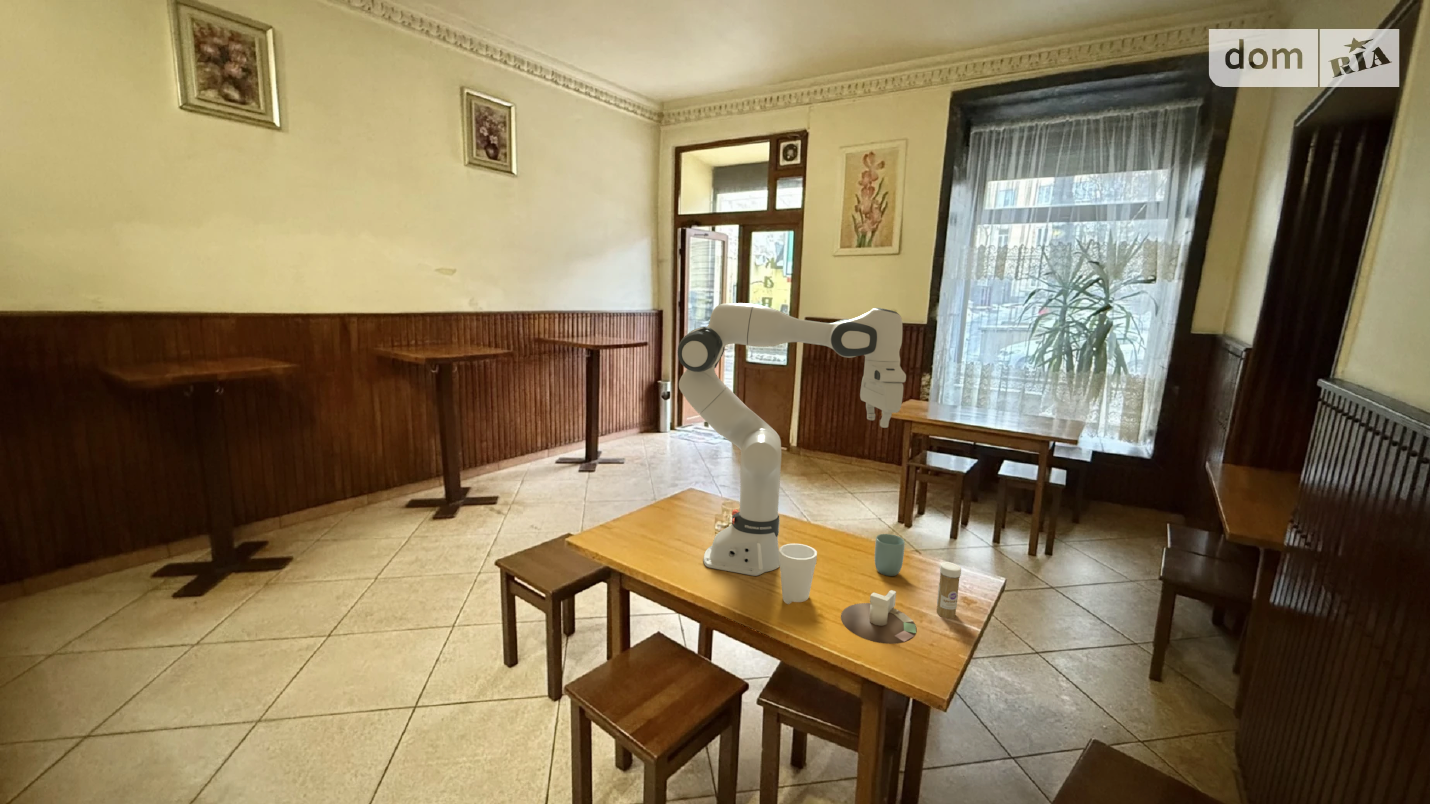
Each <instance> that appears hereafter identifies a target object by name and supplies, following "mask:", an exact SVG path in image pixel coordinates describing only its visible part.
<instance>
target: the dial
mask: <svg viewBox="0 0 1430 804" xmlns="http://www.w3.org/2000/svg"><path fill="white" fill-rule="evenodd" d="M870 605H871V603H870V602H863V603H862V602H861V603H860V602H859V603H855V604H851V605H849V606H847V607H845V608H844V609H843V610H841V614H840V620H841V623H842V625H843V626H844V627H845V628H846V629H847V630H848V631H849V632H850V633H852V634H853V635H855V636H857V637H859V638H861V639H864V640H867V641H871V642H873V643H878V644H890V645H891V644H893V645H895V644H902V643H906V642H908V641H911V640H912V639H913V638H914V637H915V636H916V634H917V632H918V631H917V625H916V623H915V622H914V620H913V619H912V618H911V617H909V615H907V614H905V612H902V611H901V610H899V609H896V608H895V607H893V608H892V609H891V610H890V612H889V613H888V618H887V624H886V625H883V626H879V625H875V624H873V623H871V622H870V620H869V617H870Z"/></svg>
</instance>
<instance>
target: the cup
mask: <svg viewBox="0 0 1430 804" xmlns="http://www.w3.org/2000/svg"><path fill="white" fill-rule="evenodd" d="M905 544H906V543H905V540H904V539H903V537H902V536H899V535H895V534H892V533H891V534H890V533H882V534H881V533H880V534H878V535H876V537H875V543H874V546H875V547H874V566H875V569H876V570H877V572H878V573H879V574H882V575H884V576H886V577H895V576H896V575H899V573H900V572H901V570H902V568H903V562H904V557H905V547H906V546H905Z"/></svg>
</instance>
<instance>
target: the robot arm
mask: <svg viewBox="0 0 1430 804" xmlns="http://www.w3.org/2000/svg"><path fill="white" fill-rule="evenodd" d="M788 343H803V344H811V345H818V346H819V345H820V346H825V347H828V348H829V349H831V350H833V351H834V352H835V353H836V354H837V355H839V356H841V357H843V358H855V357H860V356H864V367H863V376H862V380H861V386H860V390H859V391H860V393H859V397H860V400H861V401H862V402H865V409H866V419H867V421H875V420H876V413H875V408H877V409H879V410H881V419H879V427H881V428H884V429H885V428H888V427H889V423H890V420H891V417H892V415H893V414H894V413H895V414H896V413H899V412H900V411H901V409H902V405H903V404H902V402H903V398H904V397H903V396H904V384H903V383H905V382H907V381H906V380H907V374H906V372H905V371H904V370H903V369H902V367H901V357H900V349H901V347H902V343H903V319H902V316H901V315H900V314H899V313H898V312H897V311H894V310H892V309H891V310H890V309H886V308H881V307H873V308H872V309H870V310H869V311H867V312H865V313H863V314H861V315H859V316H856V317H854V318H851V319H850V318H846V319H845V318H844V319H840V320H837V321H835V322H823V321H821V322H820V321H814V320H807V319H802V318H801V319H800V318H796V317H794V316H792V315H789V314H786V313H784V312H782V311H780V310H778V309H776V308H772V307H770V306H764V305H762V304H761V305H759V304H755V303H754V304H753V303H745V302H744V303H743V302H738V303H737V302H733V303H731V302H727V303H721V304H718V305H717V306H715V308H714V309H713V310H712V312H711V315H710V319H709V323H708V325H707V326H700V327H698V328H694V329H692V330H690V331H689V333H687V334H686V335H684V336H683V338H682V339H681V340H680V341H679V344H678V347H677V359H678V361H679V362H680V364H681V365H682V366H683V367H684V368H685V369H686V370H685V372H683V373H682V375H681V377H680V379H679V381H678V388H679V390H680V393H681V394H682V395H683V397H684V398H685V400H686V401H687V402H688V403H689V405H690V406H691V407H692V408H693V409H694V411H695V412H696V413H697V414H699V416H700V417H701V418H702V419H703V420H704V421H706V423H707V424H708V425H709V426H710V427H711V428H713V430H714V431H715V432H716V433H717V434H718V435H720V436H721V437H724V438H725V439H726V440H727V441H729V442H731V443H732V444H733V445H734V446H736V447H737V449H739V450H740V470H739V472H740V477H739V478H740V482H739V483H740V486H739V487H740V488H739V490H740V493H739V510H738V509H735V508H734V509H733V510H732V512H731V516H732V517H731V518H732V519H731V524H730V525H729V526H727V527H724V529H722V530H720V531H718V533H717V534H716V535H715V537H714V539H713V542H712V544H711V546H709V547H708V548H707V549H706V550H705V552H704V554H703V559H702V560H703V564H704V566H706V567H707V568H710V569H715V570H721V571H726V572H727V571H728V572H732V573H738V574H743V575H748V576H760V575H761V574H764V573H767V572H771V571H774V570H777V569H779V568H780V561H779V549H780V547H779V538H778V537H779V534H780V525H781V524H780V515H779V506H780V505H779V504H780V501H779V500H780V483H781V466H782V440H781V437H780V435H779V434H778V433H777V431H776V430H775V429H773V427H772V426H771V425H770V424H769V423H767V422H766V421H765V420H764V419H762V418H761V417H760V416H759V415H758V414H757V413H755V411H753V410H752V409H751V408H749V407H748V406H747V405H746V404H745V403H744V402H743V401H742V400H741V399H740V398H739V397H738V396H737V394H735V393H734V392H733V391H732V390H731V389H730V388H729V387H728V386H727V385H726V384H725V382H723V381H722V380H721V379H720V378H719V377H718V375H717V373H716V371H715V369H716V368H717V366H718V365H719V362H720V360H721V358H722V357H723V356H724V352H725V349H726V346H728V345H733V344H735V345H743V346H749V347H763V348H766V347H776V346H778V345H779V346H780V345H784V344H788Z"/></svg>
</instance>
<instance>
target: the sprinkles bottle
mask: <svg viewBox="0 0 1430 804" xmlns="http://www.w3.org/2000/svg"><path fill="white" fill-rule="evenodd" d="M939 574H940V575H939V583H938V588H937V589H938V590H937V598H936V605H937V606H936V614H937V615H938V616H940V617H941V618H944V619H954V618H956V614H957V613H956V612H957V606H958V598H959V587H960V586H959V585H960V578H961V576H962V575H961V574H962V568H961V566H960V565H958V564H956V563H953V562H947V561H946V562H941V564H940V567H939Z"/></svg>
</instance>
